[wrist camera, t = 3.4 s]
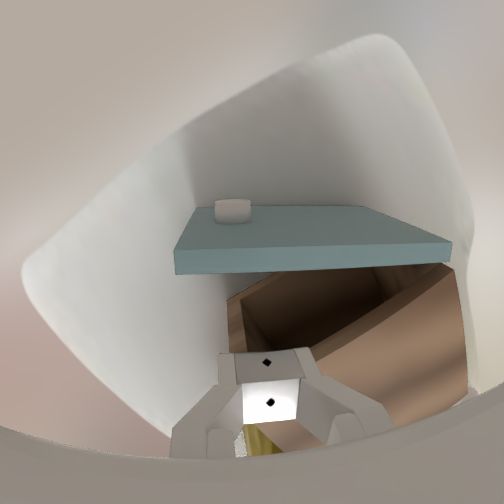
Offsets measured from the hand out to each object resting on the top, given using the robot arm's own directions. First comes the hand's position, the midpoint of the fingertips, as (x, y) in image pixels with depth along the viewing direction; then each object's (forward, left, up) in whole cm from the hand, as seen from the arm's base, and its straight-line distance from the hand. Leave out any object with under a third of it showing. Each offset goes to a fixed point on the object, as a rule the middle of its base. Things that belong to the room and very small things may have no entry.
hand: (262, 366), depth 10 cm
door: (+1, -5, -14) cm, 15 cm away
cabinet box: (-10, -3, -15) cm, 18 cm away
